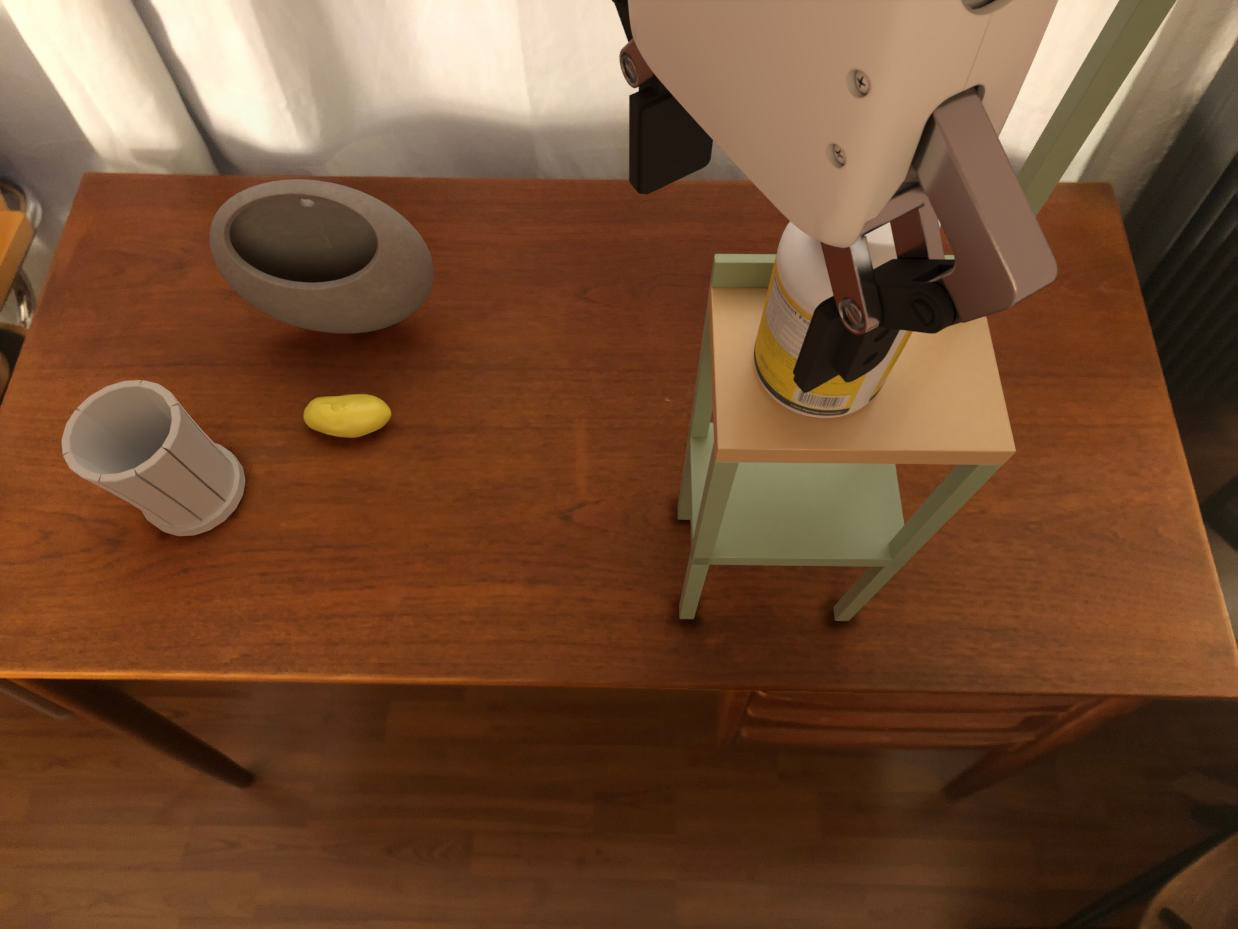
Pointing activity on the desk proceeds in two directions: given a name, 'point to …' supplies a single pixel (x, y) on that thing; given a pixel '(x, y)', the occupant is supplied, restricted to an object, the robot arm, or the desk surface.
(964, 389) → the mint side table
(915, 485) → the desk surface
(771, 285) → the pill bottle
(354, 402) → the yellow potato
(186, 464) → the cup
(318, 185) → the planter
